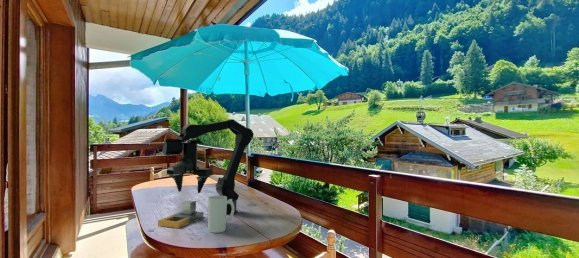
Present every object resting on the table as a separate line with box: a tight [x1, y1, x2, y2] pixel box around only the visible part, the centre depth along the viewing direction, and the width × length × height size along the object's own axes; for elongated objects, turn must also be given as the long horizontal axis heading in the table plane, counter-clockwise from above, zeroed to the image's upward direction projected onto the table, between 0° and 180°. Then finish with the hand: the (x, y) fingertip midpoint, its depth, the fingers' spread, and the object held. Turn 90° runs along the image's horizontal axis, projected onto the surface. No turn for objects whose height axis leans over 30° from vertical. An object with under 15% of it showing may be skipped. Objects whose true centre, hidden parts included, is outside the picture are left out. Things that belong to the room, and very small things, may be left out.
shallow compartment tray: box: [157, 211, 205, 229], centre depth 125 cm, size 9×17×2 cm, turn 164°
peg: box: [181, 199, 197, 216], centre depth 129 cm, size 4×4×7 cm
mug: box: [207, 195, 235, 234], centre depth 115 cm, size 10×7×12 cm, turn 123°
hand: (189, 192), depth 129 cm, fingers open, 9 cm apart
